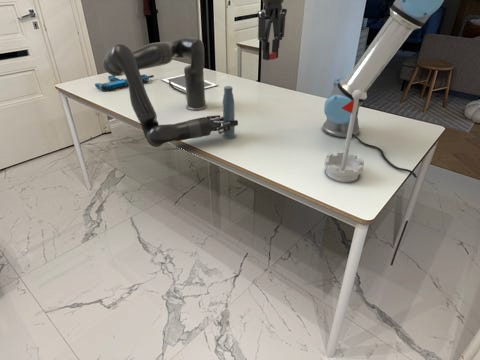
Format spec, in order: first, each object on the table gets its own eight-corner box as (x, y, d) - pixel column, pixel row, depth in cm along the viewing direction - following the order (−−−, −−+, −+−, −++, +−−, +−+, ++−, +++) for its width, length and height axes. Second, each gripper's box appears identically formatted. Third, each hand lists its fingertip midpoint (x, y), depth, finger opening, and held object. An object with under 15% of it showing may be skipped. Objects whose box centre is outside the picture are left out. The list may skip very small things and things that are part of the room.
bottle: (232, 139, 143) (232, 89, 132) (222, 137, 144) (220, 88, 133) (236, 134, 147) (235, 86, 135) (225, 133, 148) (224, 84, 136)
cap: (274, 56, 135) (274, 51, 134) (277, 59, 131) (278, 54, 130) (263, 57, 134) (263, 52, 133) (266, 59, 130) (266, 54, 129)
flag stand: (346, 161, 127) (361, 81, 110) (369, 179, 117) (390, 94, 100) (316, 168, 123) (327, 86, 106) (337, 186, 113) (353, 99, 96)
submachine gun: (139, 68, 225) (158, 74, 208) (140, 74, 226) (158, 80, 210) (87, 78, 206) (103, 86, 189) (89, 84, 208) (104, 92, 191)
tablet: (161, 80, 213) (161, 79, 212) (188, 74, 224) (188, 73, 223) (189, 92, 192) (189, 92, 192) (218, 85, 203) (218, 84, 203)
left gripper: (203, 126, 129) (242, 117, 136) (189, 113, 140) (227, 106, 146) (204, 143, 133) (242, 134, 140) (191, 130, 144) (227, 122, 150)
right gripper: (282, -12, 127) (278, 53, 140) (248, -10, 117) (247, 60, 130) (297, -11, 122) (292, 56, 135) (263, -8, 112) (261, 64, 125)
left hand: (234, 120), depth 143 cm, fingers closed on bottle, 4 cm apart
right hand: (270, 58), depth 132 cm, fingers closed on cap, 4 cm apart
